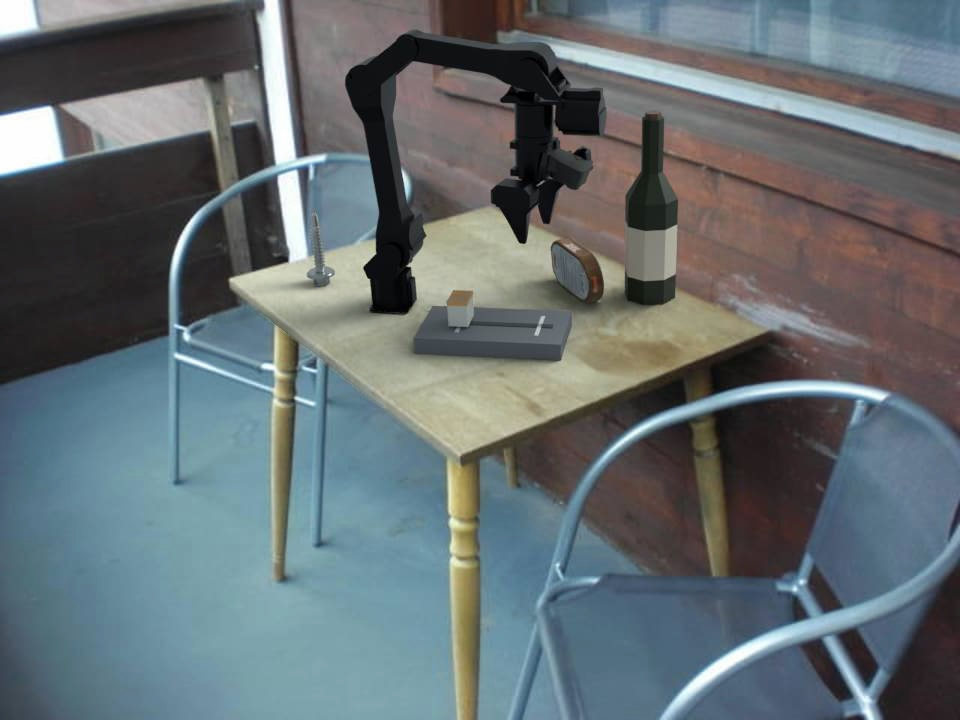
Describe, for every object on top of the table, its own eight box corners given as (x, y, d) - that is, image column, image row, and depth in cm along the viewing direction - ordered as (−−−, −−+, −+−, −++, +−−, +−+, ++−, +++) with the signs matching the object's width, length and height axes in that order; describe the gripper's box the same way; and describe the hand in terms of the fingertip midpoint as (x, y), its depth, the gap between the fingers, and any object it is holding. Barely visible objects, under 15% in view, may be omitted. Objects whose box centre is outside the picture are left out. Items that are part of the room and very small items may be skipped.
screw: (317, 291, 195) (302, 283, 198) (341, 283, 197) (326, 276, 201) (308, 218, 189) (293, 212, 192) (333, 211, 191) (318, 205, 195)
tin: (605, 307, 183) (605, 258, 179) (588, 311, 182) (587, 261, 178) (565, 276, 196) (564, 229, 192) (548, 279, 195) (547, 232, 191)
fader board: (414, 353, 171) (413, 337, 170) (433, 320, 182) (432, 305, 180) (560, 360, 167) (560, 343, 166) (571, 325, 177) (571, 310, 176)
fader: (448, 326, 172) (446, 301, 170) (454, 314, 176) (453, 290, 174) (468, 327, 172) (466, 302, 170) (474, 314, 176) (473, 290, 174)
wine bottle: (641, 309, 181) (644, 122, 168) (614, 291, 188) (615, 110, 175) (685, 298, 184) (692, 113, 171) (657, 281, 191) (661, 102, 178)
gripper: (561, 155, 157) (560, 261, 164) (608, 121, 172) (606, 220, 179) (487, 147, 162) (490, 251, 169) (539, 115, 177) (540, 212, 184)
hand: (534, 233), depth 175 cm, fingers open, 9 cm apart
